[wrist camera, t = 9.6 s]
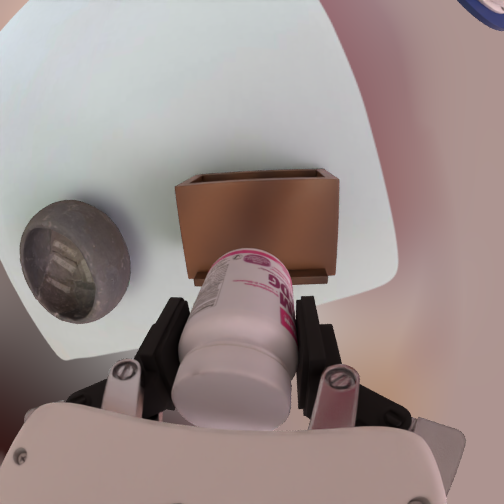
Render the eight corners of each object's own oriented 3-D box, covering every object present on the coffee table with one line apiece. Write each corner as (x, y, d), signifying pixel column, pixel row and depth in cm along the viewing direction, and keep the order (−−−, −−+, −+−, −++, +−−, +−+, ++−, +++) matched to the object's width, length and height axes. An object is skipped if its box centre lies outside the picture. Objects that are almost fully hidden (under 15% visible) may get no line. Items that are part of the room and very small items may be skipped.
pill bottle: (309, 279, 15) (334, 405, 8) (257, 331, 17) (245, 452, 9) (240, 227, 15) (204, 336, 7) (192, 288, 16) (139, 404, 9)
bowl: (133, 307, 38) (102, 353, 29) (55, 263, 36) (16, 296, 27) (160, 217, 32) (120, 250, 23) (68, 174, 30) (16, 192, 21)
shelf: (324, 168, 29) (343, 182, 21) (323, 246, 32) (338, 283, 24) (195, 174, 30) (168, 189, 22) (204, 250, 33) (184, 286, 26)
